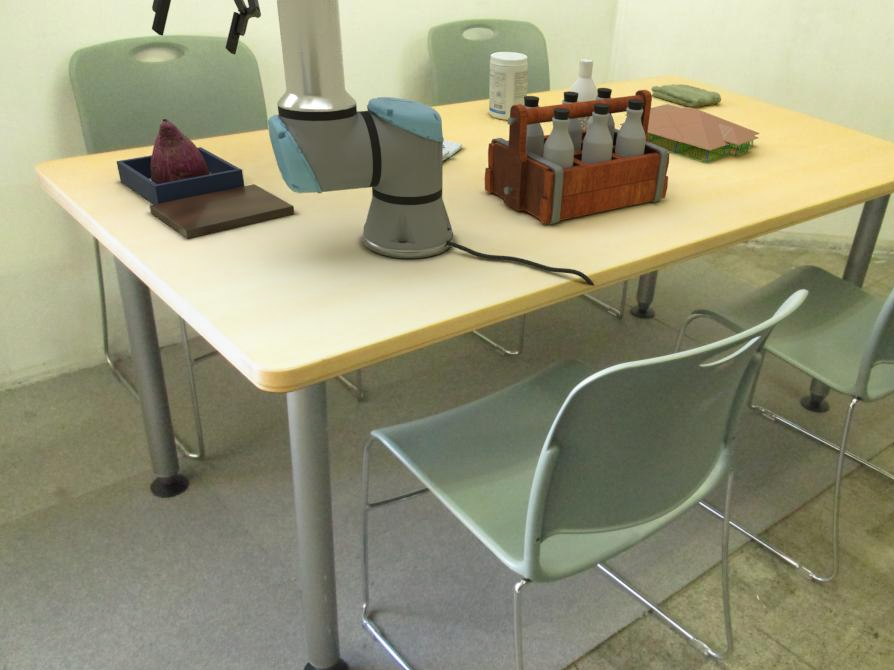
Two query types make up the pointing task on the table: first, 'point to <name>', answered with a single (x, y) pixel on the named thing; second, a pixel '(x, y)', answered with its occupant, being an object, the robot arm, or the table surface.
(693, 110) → the house
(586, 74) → the bath foam
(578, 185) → the milk bottle holder
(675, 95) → the washcloth
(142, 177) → the square frame
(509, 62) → the supplement tub
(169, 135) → the vegetable
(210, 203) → the cutting board
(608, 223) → the table surface
